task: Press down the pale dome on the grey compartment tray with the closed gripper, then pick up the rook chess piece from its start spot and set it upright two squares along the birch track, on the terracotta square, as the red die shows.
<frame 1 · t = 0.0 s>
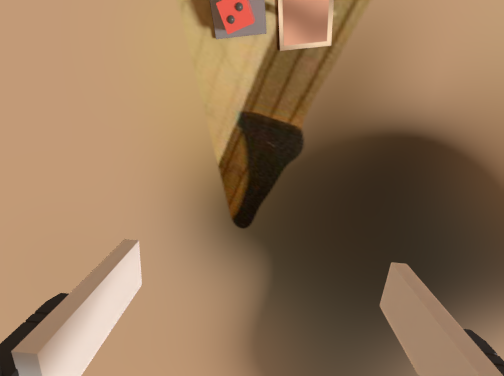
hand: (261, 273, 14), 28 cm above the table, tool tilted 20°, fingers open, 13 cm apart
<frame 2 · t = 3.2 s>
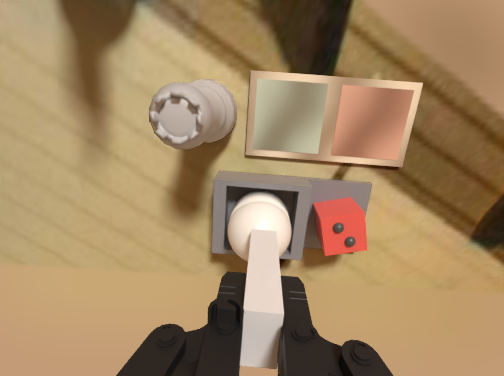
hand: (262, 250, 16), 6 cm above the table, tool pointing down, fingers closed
rook chess piece: (208, 111, 20), on the table
grey compartment tray: (289, 211, 22), on the table
game track: (328, 120, 20), on the table
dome: (259, 230, 19), point 4 cm above the table, slide at 0.2 cm, touching gripper
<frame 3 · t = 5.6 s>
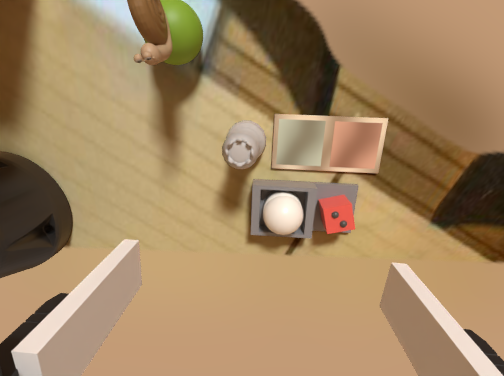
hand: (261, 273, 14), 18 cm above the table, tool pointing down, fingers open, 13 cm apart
snail figurine: (184, 45, 28), on the table
rook chess piece: (246, 140, 31), on the table
grey compartment tray: (302, 205, 32), on the table
game track: (327, 143, 30), on the table
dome: (283, 214, 30), point 3 cm above the table, slide at 1.1 cm
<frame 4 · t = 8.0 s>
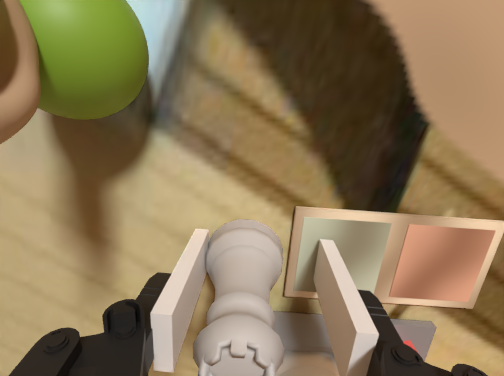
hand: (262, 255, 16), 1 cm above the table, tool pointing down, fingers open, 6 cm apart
snail figurine: (115, 69, 13), on the table
rook chess piece: (245, 247, 16), on the table, touching gripper
grey compartment tray: (334, 350, 19), on the table
game track: (387, 258, 16), on the table
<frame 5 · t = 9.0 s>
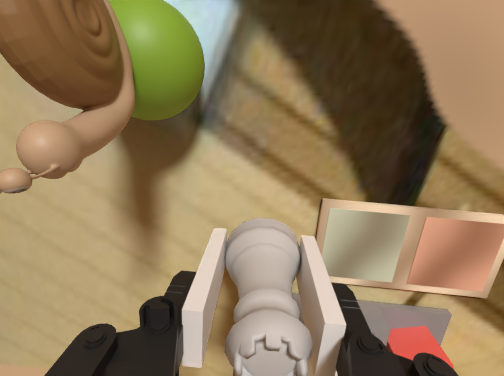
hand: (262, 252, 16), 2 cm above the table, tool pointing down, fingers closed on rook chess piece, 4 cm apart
snail figurine: (171, 78, 16), on the table
rook chess piece: (261, 245, 17), point 2 cm above the table, touching gripper
grey compartment tray: (354, 333, 20), on the table
game track: (405, 248, 18), on the table
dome: (329, 367, 18), point 3 cm above the table, slide at 1.1 cm
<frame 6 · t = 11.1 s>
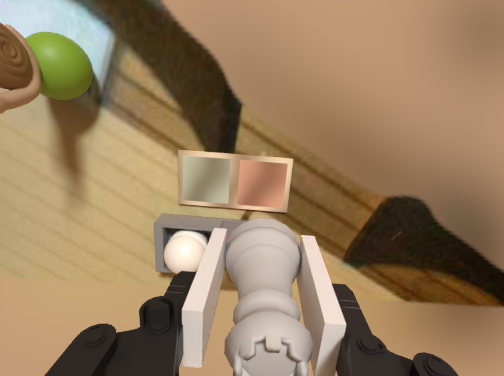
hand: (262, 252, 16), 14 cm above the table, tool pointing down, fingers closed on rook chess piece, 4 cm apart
snail figurine: (80, 76, 27), on the table
rook chess piece: (261, 246, 17), point 13 cm above the table, touching gripper
grey compartment tray: (213, 241, 32), on the table
game track: (234, 181, 29), on the table
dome: (185, 253, 29), point 3 cm above the table, slide at 1.1 cm
when the fingers open (1 cm above the table, at t = 13.1 s): rook chess piece stays where it is, resting on game track.
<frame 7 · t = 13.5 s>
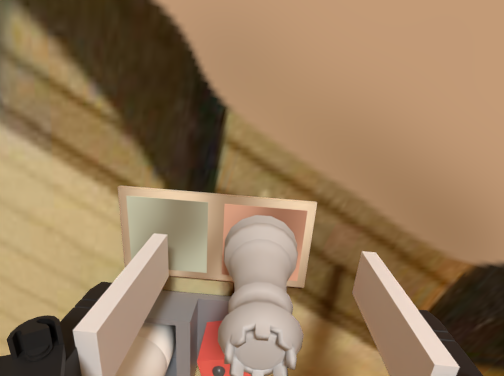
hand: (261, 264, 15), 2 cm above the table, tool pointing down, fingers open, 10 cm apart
rook chess piece: (260, 242, 17), resting on game track
grey compartment tray: (185, 326, 20), on the table
game track: (216, 237, 17), on the table
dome: (132, 361, 17), point 3 cm above the table, slide at 1.1 cm
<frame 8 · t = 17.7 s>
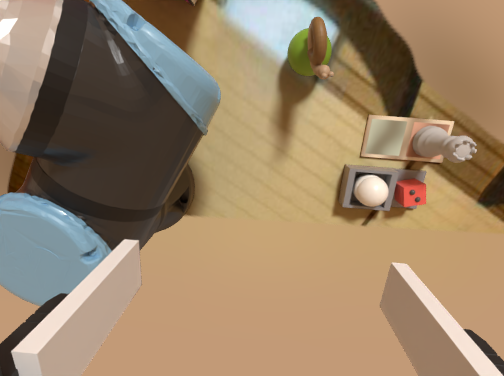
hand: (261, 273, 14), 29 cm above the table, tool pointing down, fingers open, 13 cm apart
snail figurine: (306, 60, 37), on the table
rook chess piece: (425, 140, 39), resting on game track
grey compartment tray: (380, 186, 42), on the table
game track: (405, 139, 40), on the table
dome: (371, 191, 39), point 3 cm above the table, slide at 1.1 cm
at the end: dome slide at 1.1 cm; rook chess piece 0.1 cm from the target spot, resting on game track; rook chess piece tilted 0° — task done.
